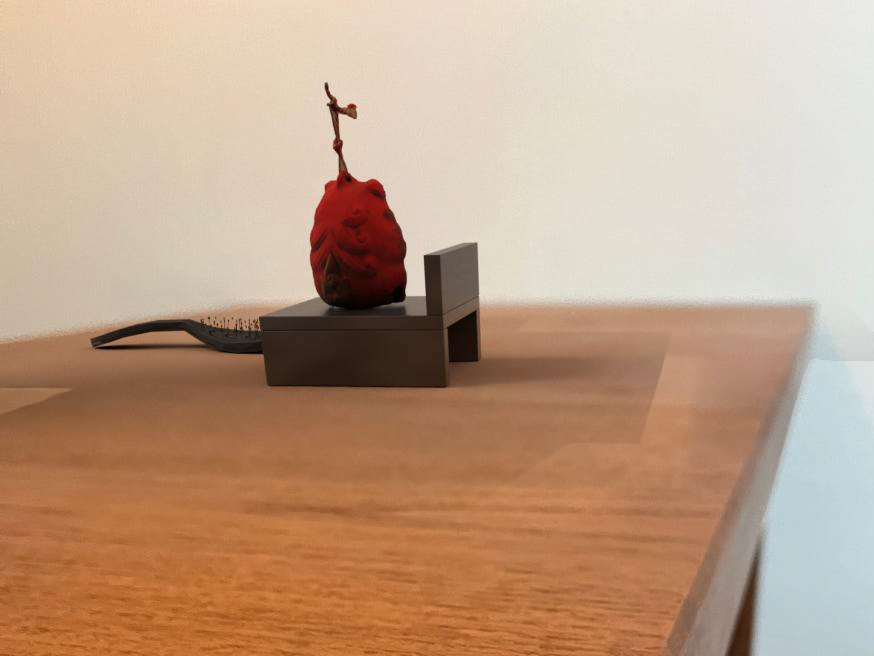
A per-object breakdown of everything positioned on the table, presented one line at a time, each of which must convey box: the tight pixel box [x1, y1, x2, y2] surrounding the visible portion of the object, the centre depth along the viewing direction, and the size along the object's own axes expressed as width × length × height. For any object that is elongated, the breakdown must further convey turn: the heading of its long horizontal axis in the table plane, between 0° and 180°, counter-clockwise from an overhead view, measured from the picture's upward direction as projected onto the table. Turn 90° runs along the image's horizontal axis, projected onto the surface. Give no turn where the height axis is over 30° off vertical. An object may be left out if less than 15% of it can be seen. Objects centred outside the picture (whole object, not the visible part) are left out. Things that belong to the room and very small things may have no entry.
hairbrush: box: [89, 316, 263, 354], centre depth 93 cm, size 8×4×25 cm
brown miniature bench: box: [258, 241, 482, 388], centre depth 77 cm, size 14×12×9 cm
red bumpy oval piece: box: [309, 81, 408, 308], centre depth 74 cm, size 8×7×15 cm
